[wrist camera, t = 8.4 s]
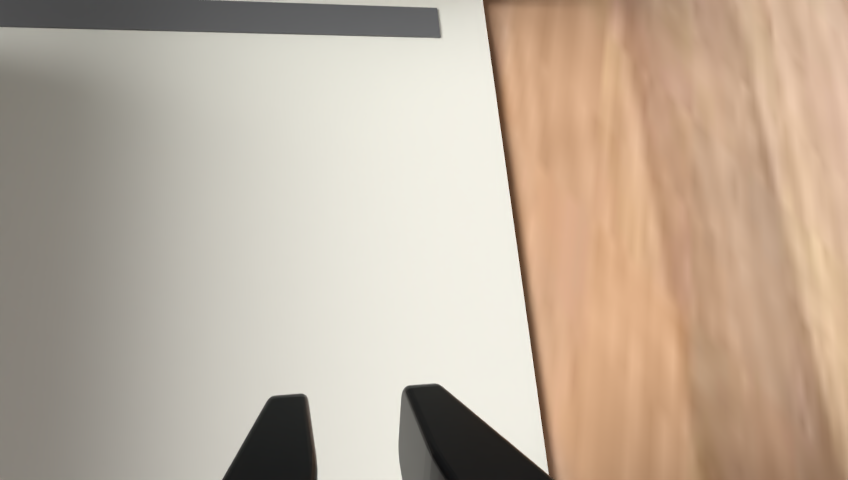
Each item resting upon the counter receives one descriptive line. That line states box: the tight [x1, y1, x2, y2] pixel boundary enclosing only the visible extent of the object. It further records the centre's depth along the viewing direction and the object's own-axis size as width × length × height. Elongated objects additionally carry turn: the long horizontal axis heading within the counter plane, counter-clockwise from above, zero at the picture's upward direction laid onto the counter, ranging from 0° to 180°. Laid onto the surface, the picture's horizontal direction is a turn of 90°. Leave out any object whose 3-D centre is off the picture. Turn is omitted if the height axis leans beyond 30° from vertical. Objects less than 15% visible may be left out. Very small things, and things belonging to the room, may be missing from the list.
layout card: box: [0, 0, 549, 480], centre depth 19 cm, size 18×19×1 cm
